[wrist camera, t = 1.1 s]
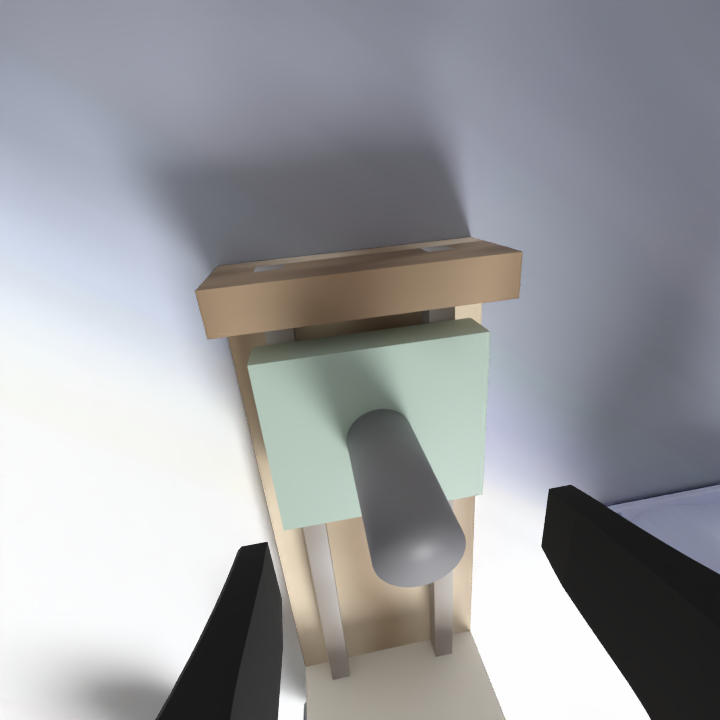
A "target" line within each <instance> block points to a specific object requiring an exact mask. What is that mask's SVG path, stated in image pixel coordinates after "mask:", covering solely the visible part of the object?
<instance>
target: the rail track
mask: <svg viewBox="0 0 720 720" xmlns="http://www.w3.org/2000/svg"><path fill="white" fill-rule="evenodd" d="M521 265H522V251H518V250H515V249H512V248H508V247H505V246H501V245H498V244H494V243H491V242H487V241H484V240H480V239H477V238H473V237H466V238H458V239H449V240H440V241H431V242H423V243H414V244H405V245H396V246H388V247H379V248H370V249H361V250H353V251H344V252H335V253H326V254H318V255H309V256H300V257H291V258H283V259H274V260H265V261H256V262H248V263H239V264H230V265H222V266H218V267H217V268H216V269H215V270H214V271H213V272H212V273H211V274H210V275H209V276H208V277H207V278H206V280H205V281H204V282H203V283H202V284H201V285H200V286H199V287H198V288H197V289H196V290H195V293H196V297H197V301H198V305H199V308H200V312H201V316H202V320H203V324H204V328H205V332H206V336H207V339H214V338H222V337H228V340H229V344H230V349H231V353H232V357H233V361H234V366H235V370H236V374H237V378H238V383H239V387H240V391H241V395H242V400H243V404H244V408H245V412H246V416H247V421H248V425H249V429H250V433H251V438H252V442H253V446H254V450H255V455H256V459H257V463H258V467H259V472H260V476H261V480H262V484H263V489H264V493H265V497H266V501H267V506H268V510H269V514H270V518H271V522H272V527H273V531H274V535H275V539H276V544H277V548H278V552H279V556H280V561H281V565H282V569H283V573H284V578H285V582H286V586H287V590H288V595H289V599H290V603H291V607H292V611H293V616H294V620H295V624H296V628H297V633H298V637H299V641H300V645H301V650H302V654H303V658H304V662H305V667H307V666H311V665H316V664H320V663H325V662H329V664H330V669H331V674H332V679H333V680H335V679H340V678H344V677H349V676H350V670H349V662H348V657H352V656H357V655H362V654H366V653H371V652H375V651H380V650H384V649H389V648H394V647H398V646H403V645H407V644H412V643H416V642H421V641H426V640H431V644H432V647H433V650H434V653H435V657H438V656H443V655H447V654H451V653H452V635H453V634H457V633H462V632H467V631H470V620H471V592H472V564H473V537H474V509H475V496H471V497H465V498H460V499H454V500H449V501H448V502H449V504H450V506H451V508H452V510H453V512H454V514H455V516H456V518H457V520H458V522H459V524H460V526H461V528H462V530H463V533H464V535H465V539H466V548H465V552H464V555H463V557H462V559H461V560H460V562H459V563H458V565H457V566H456V567H455V568H454V569H453V570H452V571H451V572H450V573H448V574H447V575H446V576H444V577H443V578H441V579H439V580H437V581H435V582H433V583H430V584H427V585H423V586H419V587H398V586H394V585H391V584H388V583H386V582H384V581H383V580H382V579H380V578H379V577H378V576H377V575H376V573H375V571H374V569H373V567H372V562H371V557H370V552H369V548H368V543H367V538H366V533H365V529H364V524H363V519H362V517H356V518H351V519H345V520H340V521H334V522H329V523H323V524H318V525H312V526H307V527H302V528H296V529H291V530H285V531H284V529H283V525H282V520H281V516H280V511H279V507H278V502H277V498H276V493H275V489H274V484H273V480H272V475H271V471H270V466H269V462H268V457H267V453H266V448H265V444H264V439H263V435H262V430H261V426H260V421H259V417H258V412H257V408H256V403H255V399H254V394H253V390H252V385H251V381H250V376H249V372H248V367H247V365H248V361H249V357H250V353H251V349H252V347H258V346H265V345H273V344H280V343H287V342H295V341H302V340H309V339H317V338H324V337H332V336H339V335H346V334H354V333H361V332H368V331H376V330H383V329H390V328H398V327H405V326H413V325H420V324H427V323H435V322H442V321H449V320H457V319H464V318H472V319H474V320H475V321H476V322H478V323H479V324H480V325H481V315H482V303H486V302H494V301H501V300H509V299H516V298H519V292H520V279H521Z"/></svg>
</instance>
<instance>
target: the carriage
mask: <svg viewBox="0 0 720 720" xmlns="http://www.w3.org/2000/svg"><path fill="white" fill-rule="evenodd" d="M489 345H490V331H488V330H487V329H486V328H484V327H483V326H482V325H480V324H479V323H478V322H476V321H475V320H474V319H472V318H464V319H457V320H449V321H442V322H435V323H427V324H420V325H413V326H405V327H398V328H390V329H383V330H376V331H368V332H361V333H354V334H346V335H339V336H332V337H324V338H317V339H309V340H302V341H295V342H287V343H280V344H273V345H265V346H258V347H252V349H251V353H250V357H249V361H248V365H247V367H248V372H249V376H250V381H251V385H252V390H253V394H254V399H255V403H256V408H257V412H258V417H259V421H260V426H261V430H262V435H263V439H264V444H265V448H266V453H267V457H268V462H269V466H270V471H271V475H272V480H273V484H274V489H275V493H276V498H277V502H278V507H279V511H280V516H281V520H282V525H283V529H284V531H285V530H291V529H296V528H302V527H307V526H312V525H318V524H323V523H329V522H334V521H340V520H345V519H351V518H356V517H362V519H363V524H364V529H365V533H366V538H367V543H368V548H369V552H370V557H371V562H372V567H373V569H374V571H375V573H376V575H377V576H378V577H379V578H380V579H382V580H383V581H384V582H386V583H388V584H391V585H394V586H398V587H419V586H423V585H427V584H430V583H433V582H435V581H437V580H439V579H441V578H443V577H444V576H446V575H447V574H448V573H450V572H451V571H452V570H453V569H454V568H455V567H456V566H457V565H458V563H459V562H460V560H461V559H462V557H463V555H464V552H465V548H466V539H465V535H464V533H463V530H462V528H461V526H460V524H459V522H458V520H457V518H456V516H455V514H454V512H453V510H452V508H451V506H450V504H449V502H448V501H449V500H454V499H460V498H465V497H471V496H476V495H482V494H483V476H484V454H485V432H486V411H487V389H488V367H489Z"/></svg>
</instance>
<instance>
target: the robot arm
mask: <svg viewBox="0 0 720 720" xmlns="http://www.w3.org/2000/svg"><path fill="white" fill-rule="evenodd" d="M541 547H542V549H543V551H544V552H545V554H546V556H547V558H548V560H549V562H550V564H551V566H552V568H553V570H554V572H555V574H556V575H557V577H558V579H559V581H560V583H561V584H562V586H563V588H564V589H565V591H566V592H567V594H568V595H569V597H570V598H571V600H572V601H573V603H574V604H575V606H576V607H577V609H578V610H579V612H580V613H581V615H582V616H583V618H584V619H585V620H586V622H587V623H588V625H589V626H590V628H591V629H592V631H593V632H594V634H595V635H596V636H597V638H598V639H599V641H600V642H601V644H602V645H603V647H604V648H605V650H606V651H607V653H608V654H609V655H610V657H611V658H612V660H613V661H614V663H615V664H616V666H617V667H618V669H619V670H620V671H621V673H622V674H623V676H624V677H625V679H626V680H627V682H628V683H629V685H630V686H631V688H632V689H633V691H634V693H635V694H636V696H637V697H638V699H639V700H640V702H641V703H642V705H643V707H644V708H645V710H646V712H647V713H648V715H649V717H650V719H651V720H720V485H715V486H710V487H705V488H700V489H695V490H689V491H684V492H679V493H674V494H669V495H664V496H658V497H653V498H648V499H643V500H638V501H632V502H627V503H622V504H617V505H612V506H607V507H606V506H605V505H603V504H602V503H600V502H598V501H597V500H595V499H594V498H592V497H590V496H589V495H587V494H586V493H584V492H582V491H581V490H579V489H577V488H576V487H574V486H572V485H567V486H562V487H557V488H551V489H549V493H548V500H547V508H546V516H545V523H544V531H543V538H542V546H541ZM282 651H283V631H282V598H281V594H280V590H279V586H278V582H277V578H276V574H275V570H274V566H273V562H272V558H271V554H270V550H269V546H268V542H264V543H258V544H253V545H248V546H242V547H241V548H240V549H239V550H238V552H237V555H236V557H235V560H234V563H233V565H232V568H231V570H230V573H229V575H228V577H227V580H226V582H225V584H224V587H223V589H222V591H221V594H220V596H219V598H218V600H217V602H216V605H215V607H214V609H213V611H212V613H211V615H210V617H209V619H208V622H207V624H206V626H205V628H204V630H203V632H202V634H201V636H200V638H199V640H198V642H197V644H196V646H195V648H194V650H193V652H192V654H191V656H190V658H189V660H188V662H187V663H186V665H185V667H184V669H183V671H182V673H181V675H180V676H179V678H178V680H177V682H176V684H175V686H174V688H173V689H172V691H171V693H170V695H169V697H168V699H167V700H166V702H165V704H164V706H163V707H162V709H161V711H160V713H159V714H158V716H157V718H156V720H278V707H279V694H280V680H281V666H282Z"/></svg>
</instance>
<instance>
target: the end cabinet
mask: <svg viewBox="0 0 720 720" xmlns="http://www.w3.org/2000/svg"><path fill="white" fill-rule="evenodd" d="M348 662H349V670H350V676H349V677H344V678H340V679H335V680H333V679H332V674H331V669H330V664H329V662H325V663H320V664H316V665H311V666H307V667H306V702H305V704H304V720H505V717H504V715H503V712H502V710H501V707H500V705H499V702H498V699H497V697H496V694H495V692H494V689H493V687H492V684H491V682H490V679H489V677H488V674H487V672H486V669H485V667H484V664H483V662H482V659H481V657H480V654H479V652H478V649H477V647H476V644H475V642H474V639H473V637H472V634H471V632H470V631H467V632H462V633H457V634H453V635H452V653H451V654H447V655H443V656H438V657H435V653H434V650H433V647H432V644H431V640H426V641H421V642H416V643H412V644H407V645H403V646H398V647H394V648H389V649H384V650H380V651H375V652H371V653H366V654H362V655H357V656H352V657H348Z"/></svg>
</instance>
